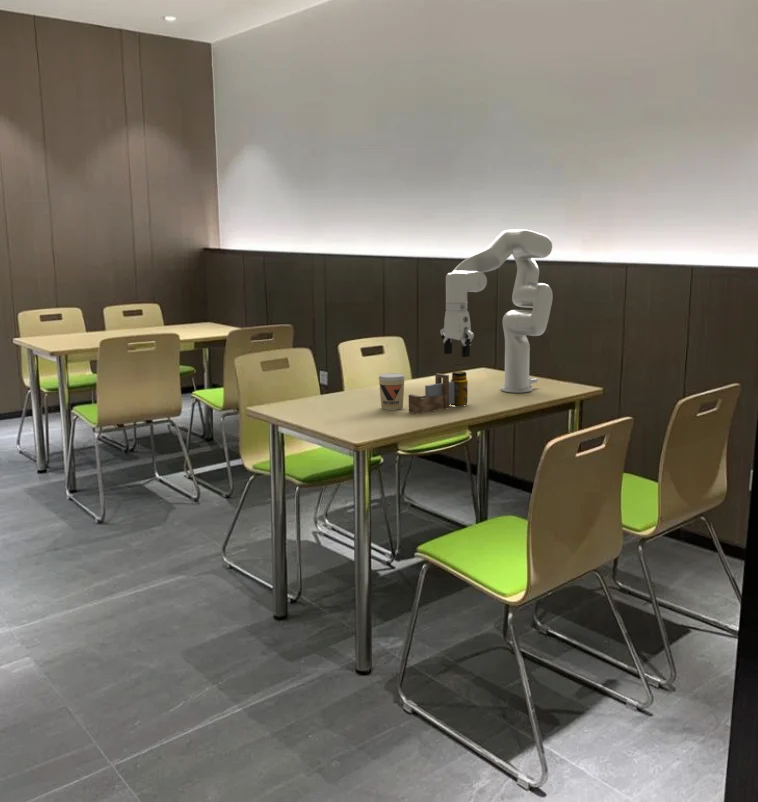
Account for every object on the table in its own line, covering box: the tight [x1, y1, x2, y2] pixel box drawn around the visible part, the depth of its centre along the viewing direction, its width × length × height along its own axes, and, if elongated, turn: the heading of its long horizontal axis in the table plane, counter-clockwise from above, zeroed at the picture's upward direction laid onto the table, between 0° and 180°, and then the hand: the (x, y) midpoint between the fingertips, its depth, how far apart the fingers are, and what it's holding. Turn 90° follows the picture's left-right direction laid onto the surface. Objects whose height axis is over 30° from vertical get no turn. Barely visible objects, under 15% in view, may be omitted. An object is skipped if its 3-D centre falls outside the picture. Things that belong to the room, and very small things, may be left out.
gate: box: [424, 380, 454, 405], centre depth 281 cm, size 12×2×8 cm, turn 125°
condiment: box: [450, 370, 473, 408], centre depth 286 cm, size 7×8×12 cm
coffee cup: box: [378, 372, 406, 411], centre depth 283 cm, size 9×9×12 cm
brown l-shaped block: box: [408, 372, 450, 414], centre depth 278 cm, size 14×6×12 cm, turn 125°
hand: (456, 355), depth 283 cm, fingers open, 9 cm apart
